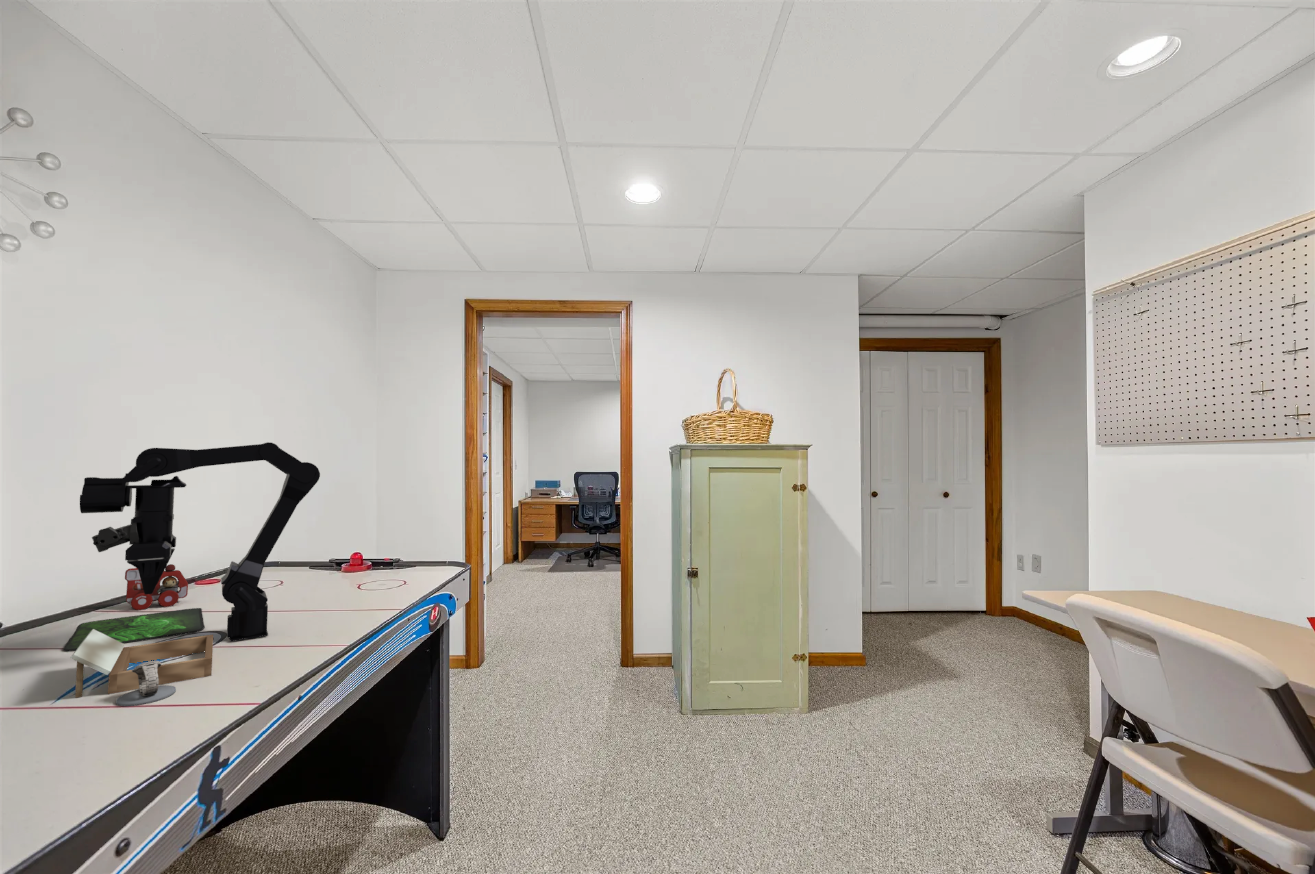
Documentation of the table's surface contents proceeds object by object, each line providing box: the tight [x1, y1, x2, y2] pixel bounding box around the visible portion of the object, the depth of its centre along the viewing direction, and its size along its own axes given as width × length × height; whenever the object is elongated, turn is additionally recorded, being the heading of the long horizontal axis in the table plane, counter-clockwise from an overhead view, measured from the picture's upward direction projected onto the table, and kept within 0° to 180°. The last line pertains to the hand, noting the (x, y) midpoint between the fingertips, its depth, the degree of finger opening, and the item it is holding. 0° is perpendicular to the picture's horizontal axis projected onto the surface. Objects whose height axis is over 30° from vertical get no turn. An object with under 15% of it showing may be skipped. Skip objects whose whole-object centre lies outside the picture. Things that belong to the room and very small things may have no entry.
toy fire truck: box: [124, 563, 189, 611], centre depth 145 cm, size 7×12×10 cm, turn 130°
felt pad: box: [115, 684, 177, 707], centre depth 89 cm, size 7×7×1 cm
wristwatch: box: [131, 660, 162, 697], centre depth 89 cm, size 4×6×5 cm, turn 51°
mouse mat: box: [62, 607, 206, 652], centre depth 126 cm, size 27×22×1 cm
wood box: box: [70, 629, 214, 699], centre depth 99 cm, size 18×17×7 cm
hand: (150, 589), depth 110 cm, fingers open, 9 cm apart
